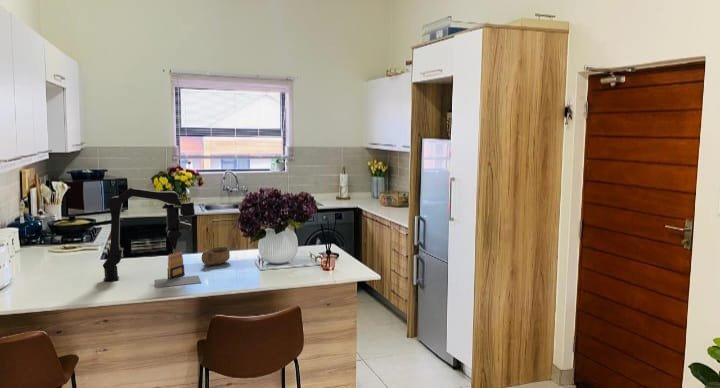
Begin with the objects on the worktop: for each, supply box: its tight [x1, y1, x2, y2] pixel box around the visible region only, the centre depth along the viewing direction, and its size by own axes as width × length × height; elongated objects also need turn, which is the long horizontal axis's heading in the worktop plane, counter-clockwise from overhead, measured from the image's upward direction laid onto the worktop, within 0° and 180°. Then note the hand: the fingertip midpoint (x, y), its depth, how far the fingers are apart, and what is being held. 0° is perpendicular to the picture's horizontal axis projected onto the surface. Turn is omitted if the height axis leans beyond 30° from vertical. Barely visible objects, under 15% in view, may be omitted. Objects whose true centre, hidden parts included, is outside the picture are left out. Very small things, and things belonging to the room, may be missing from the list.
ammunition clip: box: [167, 250, 186, 279], centre depth 266 cm, size 11×2×12 cm, turn 162°
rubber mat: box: [154, 275, 202, 289], centre depth 259 cm, size 14×20×1 cm
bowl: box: [201, 246, 231, 266], centre depth 293 cm, size 18×14×10 cm
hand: (174, 248), depth 271 cm, fingers open, 3 cm apart
